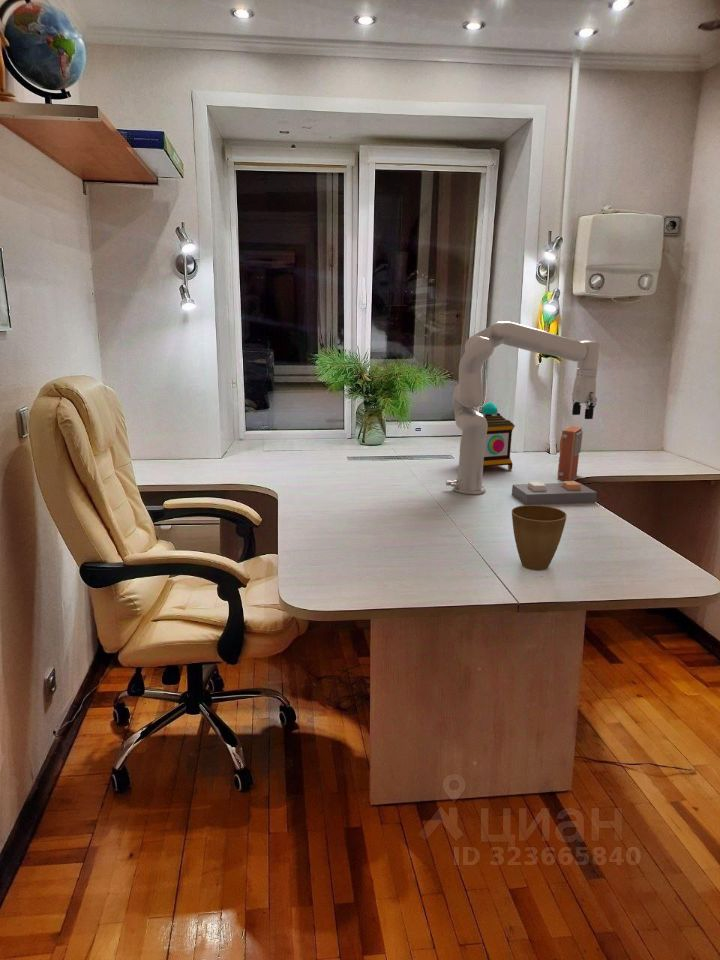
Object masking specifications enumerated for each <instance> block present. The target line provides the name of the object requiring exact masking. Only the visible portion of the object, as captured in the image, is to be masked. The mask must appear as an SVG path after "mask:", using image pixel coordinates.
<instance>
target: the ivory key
mask: <svg viewBox="0 0 720 960" xmlns="http://www.w3.org/2000/svg"><path fill="white" fill-rule="evenodd" d="M527 484H528V488H529V489H530V490H532V491H546V485H545V484H546V483H543V482H541V481H532V482H531V481H530V482H528V483H527Z"/></svg>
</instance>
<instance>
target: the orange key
mask: <svg viewBox="0 0 720 960" xmlns="http://www.w3.org/2000/svg"><path fill="white" fill-rule="evenodd" d="M561 483H562V487H563V488H565V489H566V490H580V487H581V484H582V483H581V484H579V483H580V482H577V481H575V480H570V481H567V480H562V482H561Z"/></svg>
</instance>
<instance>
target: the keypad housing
mask: <svg viewBox="0 0 720 960" xmlns="http://www.w3.org/2000/svg"><path fill="white" fill-rule="evenodd" d="M578 483H579V484H581V487H580V490H566V489H565V488H563V487H562V482H559V483H557V482H556V483H555V482H554V483H544V484H545V485H546V491H532V490H530V489H529V488H528V483H519V484H518V483H517V484H515V483H513V484H512V485H511V495H512V496H513V497H515V499H517V500H519V501H520V502H521V503H522V504H525V505H557V504H558V505H559V504H561V505H562V504H563V505H564V504H590V503H592V502H594V503H597V495H598V491H595V490H593V489H591V488H590V487H587V486H586V485H585V484H582V483H580V482H578Z"/></svg>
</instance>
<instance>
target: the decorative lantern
mask: <svg viewBox="0 0 720 960" xmlns="http://www.w3.org/2000/svg"><path fill="white" fill-rule="evenodd" d="M478 412H479V413H481V414H482V415H483V416H484V417H485V418H486V420H487V424H488V429H487V434H486V439H485V447H484V461H483V468H485V467H486V468H488V467H498V466H499V467H500V466H501V467H502V466H507V469H508V471H512V470H513V462H512V459H511V447H512V435H513V430H514V428H515V427H516V425H515V424H514V423H513V422H512V421H511V420H510V419H507V418H505V417H503V416H502V415H501V413H499V412H498V407H497V406H496V405H495V403H493V402H490V401H489V402H486V403H485V404H484V405H483V406H482V407H481V411H478Z"/></svg>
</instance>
